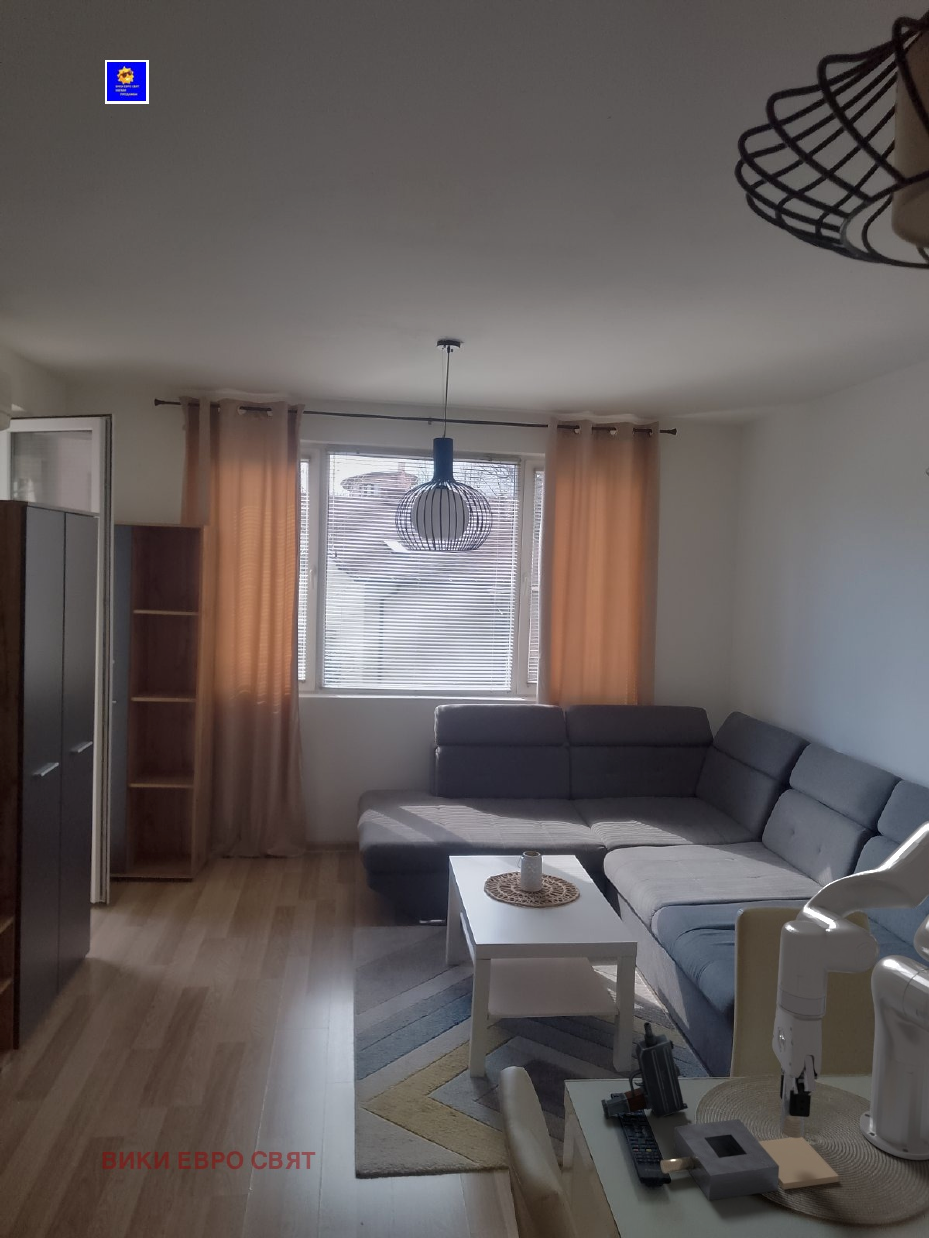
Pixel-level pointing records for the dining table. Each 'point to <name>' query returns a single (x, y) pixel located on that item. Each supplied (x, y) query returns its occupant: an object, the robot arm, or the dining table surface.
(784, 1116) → the silver metal rod
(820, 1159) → the pad
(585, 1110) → the dining table surface
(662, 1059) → the gun
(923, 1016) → the robot arm
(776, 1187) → the block
